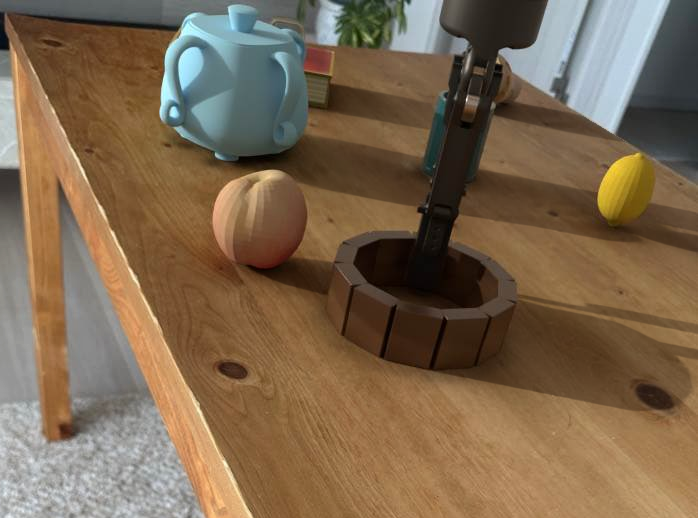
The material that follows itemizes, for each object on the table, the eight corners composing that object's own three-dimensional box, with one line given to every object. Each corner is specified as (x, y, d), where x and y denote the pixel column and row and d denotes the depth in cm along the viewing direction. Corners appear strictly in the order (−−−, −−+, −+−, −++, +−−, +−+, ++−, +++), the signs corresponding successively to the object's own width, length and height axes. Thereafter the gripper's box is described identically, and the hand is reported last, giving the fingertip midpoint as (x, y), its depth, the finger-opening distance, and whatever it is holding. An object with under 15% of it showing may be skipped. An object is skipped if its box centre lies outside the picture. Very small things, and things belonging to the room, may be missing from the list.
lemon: (577, 219, 98) (605, 146, 92) (605, 212, 101) (633, 140, 95) (618, 240, 95) (649, 166, 90) (645, 232, 98) (677, 159, 93)
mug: (530, 110, 127) (542, 50, 118) (476, 143, 126) (483, 86, 117) (498, 79, 130) (507, 19, 120) (445, 112, 129) (449, 53, 119)
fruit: (232, 234, 82) (241, 147, 77) (311, 259, 81) (325, 172, 75) (195, 266, 76) (201, 174, 71) (279, 293, 75) (292, 201, 70)
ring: (501, 299, 80) (516, 253, 77) (499, 386, 69) (517, 336, 66) (340, 263, 81) (349, 216, 78) (313, 343, 70) (322, 292, 67)
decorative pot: (139, 150, 94) (143, 7, 85) (180, 106, 106) (187, -24, 96) (287, 183, 93) (306, 42, 84) (311, 135, 105) (331, 7, 96)
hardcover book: (181, 55, 121) (183, 20, 118) (330, 82, 122) (335, 48, 119) (166, 79, 112) (167, 43, 110) (326, 108, 113) (332, 73, 111)
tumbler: (475, 168, 105) (495, 97, 100) (474, 187, 101) (495, 113, 95) (423, 156, 106) (441, 85, 100) (419, 175, 101) (437, 101, 95)
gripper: (456, -52, 70) (391, 230, 86) (444, -14, 58) (371, 307, 74) (548, -33, 69) (466, 247, 85) (556, 10, 57) (459, 326, 73)
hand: (422, 274), depth 79 cm, fingers open, 3 cm apart
